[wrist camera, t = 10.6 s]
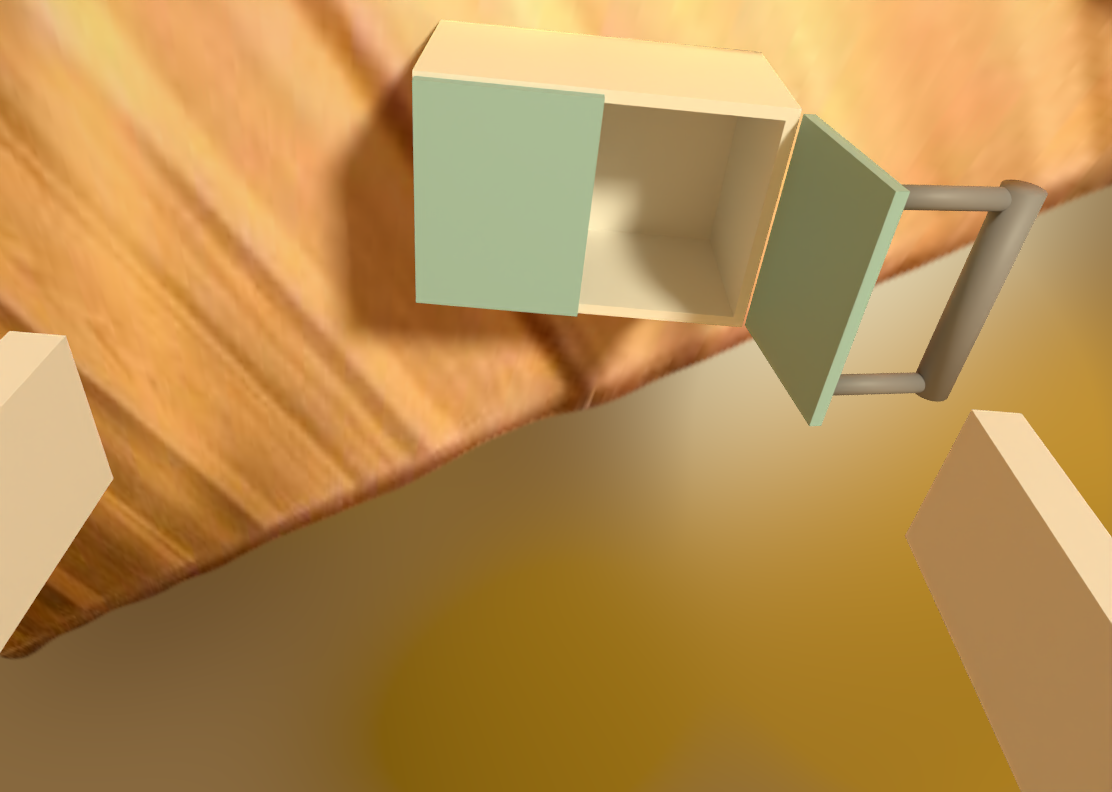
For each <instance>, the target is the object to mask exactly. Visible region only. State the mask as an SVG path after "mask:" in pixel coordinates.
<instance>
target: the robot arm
mask: <svg viewBox="0 0 1112 792" xmlns="http://www.w3.org/2000/svg"><path fill="white" fill-rule="evenodd" d="M112 480H113V476H112V473H111V470H110V467H109V464H108V461H107V458H106V455H105V452H104V449H103V446H102V443H101V440H100V437H99V434H98V431H97V428H96V425H95V422H94V419H93V416H92V413H91V410H90V407H89V404H88V401H87V398H86V395H85V392H84V389H83V386H82V383H81V380H80V377H79V374H78V371H77V368H76V365H75V362H74V359H73V356H72V353H71V350H70V347H69V344H68V341H67V338H66V336H63V335H51V334H39V333H27V332H14V331H9V332H8V333H7V334H6V335H5V336H4V337H3V338H2V339H1V340H0V652H1V650H2V649H3V647H4V646H5V644H6V643H7V641H8V640H9V638H10V637H11V635H12V633H13V632H14V630H15V629H16V627H17V626H18V624H19V623H20V621H21V620H22V618H23V617H24V615H25V614H26V612H27V610H28V609H29V607H30V606H31V604H32V603H33V601H34V600H35V598H36V597H37V595H38V594H39V592H40V590H41V589H42V587H43V586H44V584H45V583H46V581H47V580H48V578H49V577H50V575H51V574H52V572H53V570H54V569H55V567H56V566H57V564H58V563H59V561H60V560H61V558H62V557H63V555H64V554H65V552H66V550H67V549H68V547H69V546H70V544H71V543H72V541H73V540H74V538H75V537H76V535H77V534H78V532H79V531H80V529H81V527H82V526H83V524H84V523H85V521H86V520H87V518H88V517H89V515H90V514H91V512H92V511H93V509H94V507H95V506H96V504H97V503H98V501H99V500H100V498H101V497H102V495H103V494H104V492H105V491H106V489H107V487H108V486H109V484H110V483H111V481H112ZM905 537H906V539H907V541H908V544H909V546H910V548H911V550H912V552H913V555H914V557H915V559H916V561H917V563H918V566H919V568H920V570H921V572H922V574H923V576H924V579H925V581H926V583H927V585H928V588H929V590H930V592H931V594H932V596H933V599H934V601H935V603H936V605H937V607H938V610H939V612H940V614H941V616H942V618H943V621H944V623H945V625H946V627H947V629H948V632H949V634H950V636H951V638H952V640H953V642H954V645H955V647H956V649H957V651H958V654H959V656H960V658H961V660H962V663H963V665H964V667H965V669H966V671H967V674H968V676H969V678H970V680H971V682H972V685H973V687H974V689H975V691H976V693H977V696H978V698H979V700H980V702H981V704H982V707H983V708H984V711H985V713H986V715H987V718H988V720H989V722H990V724H991V726H992V729H993V731H994V733H995V735H996V737H997V740H998V742H999V744H1000V746H1001V748H1002V751H1003V753H1004V755H1005V757H1006V759H1007V762H1008V764H1009V766H1010V768H1011V770H1012V773H1013V775H1014V777H1015V779H1016V781H1017V783H1018V786H1019V788H1020V790H1021V792H1112V537H1111V536H1110V534H1109V533H1108V532H1107V530H1106V529H1105V528H1104V526H1103V525H1102V523H1101V522H1100V521H1099V519H1098V518H1097V517H1096V515H1095V514H1094V512H1093V511H1092V510H1091V508H1090V507H1089V506H1088V504H1087V503H1086V502H1085V500H1084V499H1083V497H1082V496H1081V495H1080V493H1079V492H1078V490H1077V489H1076V488H1075V486H1074V485H1073V484H1072V482H1071V481H1070V480H1069V478H1068V477H1067V476H1066V474H1065V473H1064V471H1063V470H1062V469H1061V467H1060V466H1059V464H1058V463H1057V462H1056V460H1055V459H1054V458H1053V456H1052V455H1051V453H1050V452H1049V451H1048V449H1047V448H1046V447H1045V445H1044V444H1043V443H1042V441H1041V440H1040V438H1039V437H1038V436H1037V434H1036V433H1035V431H1034V430H1033V429H1032V427H1031V426H1030V425H1029V423H1028V422H1027V420H1026V419H1025V418H1024V416H1023V415H1022V414H1021V413H1009V412H996V411H984V410H971V412H970V414H969V416H968V418H967V420H966V421H965V423H964V425H963V427H962V429H961V431H960V433H959V435H958V437H957V439H956V441H955V442H954V444H953V446H952V448H951V450H950V452H949V454H948V456H947V458H946V459H945V461H944V463H943V465H942V467H941V469H940V471H939V473H938V475H937V477H936V478H935V480H934V482H933V484H932V486H931V488H930V490H929V492H928V494H927V496H926V497H925V499H924V501H923V503H922V505H921V507H920V509H919V511H918V513H917V514H916V516H915V518H914V520H913V522H912V524H911V526H910V528H909V530H908V532H907V534H906V535H905Z"/></svg>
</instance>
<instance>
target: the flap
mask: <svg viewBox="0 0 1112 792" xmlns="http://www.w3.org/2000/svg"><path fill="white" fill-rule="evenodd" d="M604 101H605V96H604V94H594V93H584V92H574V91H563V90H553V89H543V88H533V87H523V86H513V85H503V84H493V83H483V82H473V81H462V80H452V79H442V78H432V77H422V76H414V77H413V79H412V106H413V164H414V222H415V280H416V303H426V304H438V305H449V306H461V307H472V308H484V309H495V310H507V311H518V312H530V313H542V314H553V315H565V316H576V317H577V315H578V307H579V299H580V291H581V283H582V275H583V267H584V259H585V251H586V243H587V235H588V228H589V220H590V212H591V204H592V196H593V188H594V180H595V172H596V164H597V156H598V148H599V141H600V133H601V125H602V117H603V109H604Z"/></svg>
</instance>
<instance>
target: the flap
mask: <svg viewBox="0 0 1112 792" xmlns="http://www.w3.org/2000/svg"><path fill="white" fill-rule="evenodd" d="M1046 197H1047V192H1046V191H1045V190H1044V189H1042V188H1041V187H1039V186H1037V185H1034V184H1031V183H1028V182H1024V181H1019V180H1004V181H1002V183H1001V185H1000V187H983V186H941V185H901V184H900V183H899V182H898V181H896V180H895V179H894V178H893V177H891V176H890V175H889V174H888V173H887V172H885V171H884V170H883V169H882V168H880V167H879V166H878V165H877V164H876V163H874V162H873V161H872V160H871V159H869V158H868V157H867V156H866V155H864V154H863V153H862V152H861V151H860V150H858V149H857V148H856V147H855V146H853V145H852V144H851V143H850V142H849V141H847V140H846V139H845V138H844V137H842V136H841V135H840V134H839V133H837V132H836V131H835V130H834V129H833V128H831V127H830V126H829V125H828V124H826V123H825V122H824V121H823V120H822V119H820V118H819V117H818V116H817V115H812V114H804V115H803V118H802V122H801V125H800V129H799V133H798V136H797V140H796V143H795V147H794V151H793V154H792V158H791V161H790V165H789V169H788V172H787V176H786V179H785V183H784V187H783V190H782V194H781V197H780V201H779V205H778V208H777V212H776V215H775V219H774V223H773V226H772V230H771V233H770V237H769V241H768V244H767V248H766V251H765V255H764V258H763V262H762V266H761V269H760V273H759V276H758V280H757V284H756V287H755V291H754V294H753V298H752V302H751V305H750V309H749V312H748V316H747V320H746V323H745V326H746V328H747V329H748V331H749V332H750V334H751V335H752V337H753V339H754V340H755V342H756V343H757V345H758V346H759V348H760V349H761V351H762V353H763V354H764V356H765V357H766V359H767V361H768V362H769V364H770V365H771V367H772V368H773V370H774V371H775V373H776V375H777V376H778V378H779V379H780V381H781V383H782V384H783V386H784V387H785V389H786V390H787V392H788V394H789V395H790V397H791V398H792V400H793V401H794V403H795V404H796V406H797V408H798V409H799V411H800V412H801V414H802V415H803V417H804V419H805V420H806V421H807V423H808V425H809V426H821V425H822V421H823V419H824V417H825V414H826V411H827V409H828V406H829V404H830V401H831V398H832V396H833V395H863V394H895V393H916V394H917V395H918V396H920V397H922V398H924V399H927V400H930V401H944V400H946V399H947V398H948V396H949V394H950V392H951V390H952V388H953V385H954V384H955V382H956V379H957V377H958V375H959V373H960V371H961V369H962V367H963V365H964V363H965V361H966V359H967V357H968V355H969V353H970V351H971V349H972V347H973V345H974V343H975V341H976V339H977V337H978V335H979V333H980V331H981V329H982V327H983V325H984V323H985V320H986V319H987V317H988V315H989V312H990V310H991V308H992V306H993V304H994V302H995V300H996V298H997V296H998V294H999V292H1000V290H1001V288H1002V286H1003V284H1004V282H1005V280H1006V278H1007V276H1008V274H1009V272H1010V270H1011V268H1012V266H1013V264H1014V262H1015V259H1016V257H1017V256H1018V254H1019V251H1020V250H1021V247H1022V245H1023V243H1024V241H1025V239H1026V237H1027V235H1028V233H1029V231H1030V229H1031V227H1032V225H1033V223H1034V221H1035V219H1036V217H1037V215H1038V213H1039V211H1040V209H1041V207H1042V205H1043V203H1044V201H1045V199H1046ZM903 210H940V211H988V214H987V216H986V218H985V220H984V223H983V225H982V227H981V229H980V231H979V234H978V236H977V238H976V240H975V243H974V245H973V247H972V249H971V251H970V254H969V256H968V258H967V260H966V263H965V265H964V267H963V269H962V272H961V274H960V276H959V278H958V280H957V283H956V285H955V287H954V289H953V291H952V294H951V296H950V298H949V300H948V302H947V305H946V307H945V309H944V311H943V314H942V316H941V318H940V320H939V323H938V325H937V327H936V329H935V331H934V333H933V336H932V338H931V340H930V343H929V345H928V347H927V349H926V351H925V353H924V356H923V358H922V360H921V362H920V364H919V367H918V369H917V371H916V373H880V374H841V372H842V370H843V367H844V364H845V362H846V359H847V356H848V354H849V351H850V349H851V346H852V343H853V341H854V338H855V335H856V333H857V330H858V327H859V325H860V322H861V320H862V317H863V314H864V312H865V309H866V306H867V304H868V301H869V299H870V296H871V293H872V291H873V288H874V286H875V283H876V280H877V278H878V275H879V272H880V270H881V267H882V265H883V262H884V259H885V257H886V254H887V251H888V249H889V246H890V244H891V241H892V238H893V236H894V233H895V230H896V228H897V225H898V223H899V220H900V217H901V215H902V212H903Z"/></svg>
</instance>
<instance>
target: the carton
mask: <svg viewBox="0 0 1112 792" xmlns="http://www.w3.org/2000/svg"><path fill="white" fill-rule="evenodd" d="M414 76H422V77H432V78H442V79H452V80H462V81H473V82H483V83H493V84H503V85H513V86H523V87H533V88H543V89H553V90H563V91H574V92H584V93H594V94H604V96H605V101H604V109H603V117H602V125H601V133H600V141H599V148H598V156H597V164H596V172H595V180H594V188H593V196H592V204H591V212H590V220H589V228H588V235H587V243H586V251H585V259H584V267H583V275H582V283H581V291H580V299H579V307H578V313H583V314H594V315H606V316H617V317H629V318H640V319H652V320H663V321H675V322H686V323H698V324H710V325H721V326H733V327H742V325H743V321H744V317H745V314H746V310H747V307H748V303H749V299H750V296H751V292H752V288H753V285H754V281H755V278H756V274H757V270H758V267H759V263H760V259H761V256H762V252H763V249H764V245H765V241H766V238H767V234H768V230H769V227H770V223H771V220H772V216H773V212H774V209H775V205H776V201H777V198H778V194H779V191H780V187H781V183H782V180H783V176H784V172H785V169H786V165H787V162H788V158H789V154H790V151H791V147H792V143H793V140H794V136H795V133H796V129H797V125H798V122H799V118H800V114H801V111H802V108H801V107H800V106H799V104H798V103H797V101H796V100H795V99H794V97H793V96H792V94H791V93H790V92H789V90H788V89H787V87H786V86H785V85H784V83H783V82H782V81H781V79H780V78H779V76H778V75H777V74H776V72H775V71H774V69H773V68H772V67H771V65H770V64H769V62H768V61H767V60H766V58H765V57H764V55H763V54H762V53H761V52H755V51H745V50H735V49H725V48H716V47H706V46H696V45H686V44H676V43H667V42H657V41H647V40H637V39H628V38H618V37H608V36H598V35H588V34H579V33H569V32H559V31H549V30H540V29H530V28H520V27H510V26H500V25H491V24H481V23H471V22H461V21H451V20H442V19H441V20H440V22H439V24H438V25H437V27H436V29H435V31H434V32H433V34H432V36H431V38H430V40H429V41H428V43H427V45H426V47H425V48H424V50H423V52H422V54H421V56H420V57H419V59H418V61H417V63H416V64H415V66H414V68H413V70H412V79H413V77H414Z"/></svg>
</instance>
